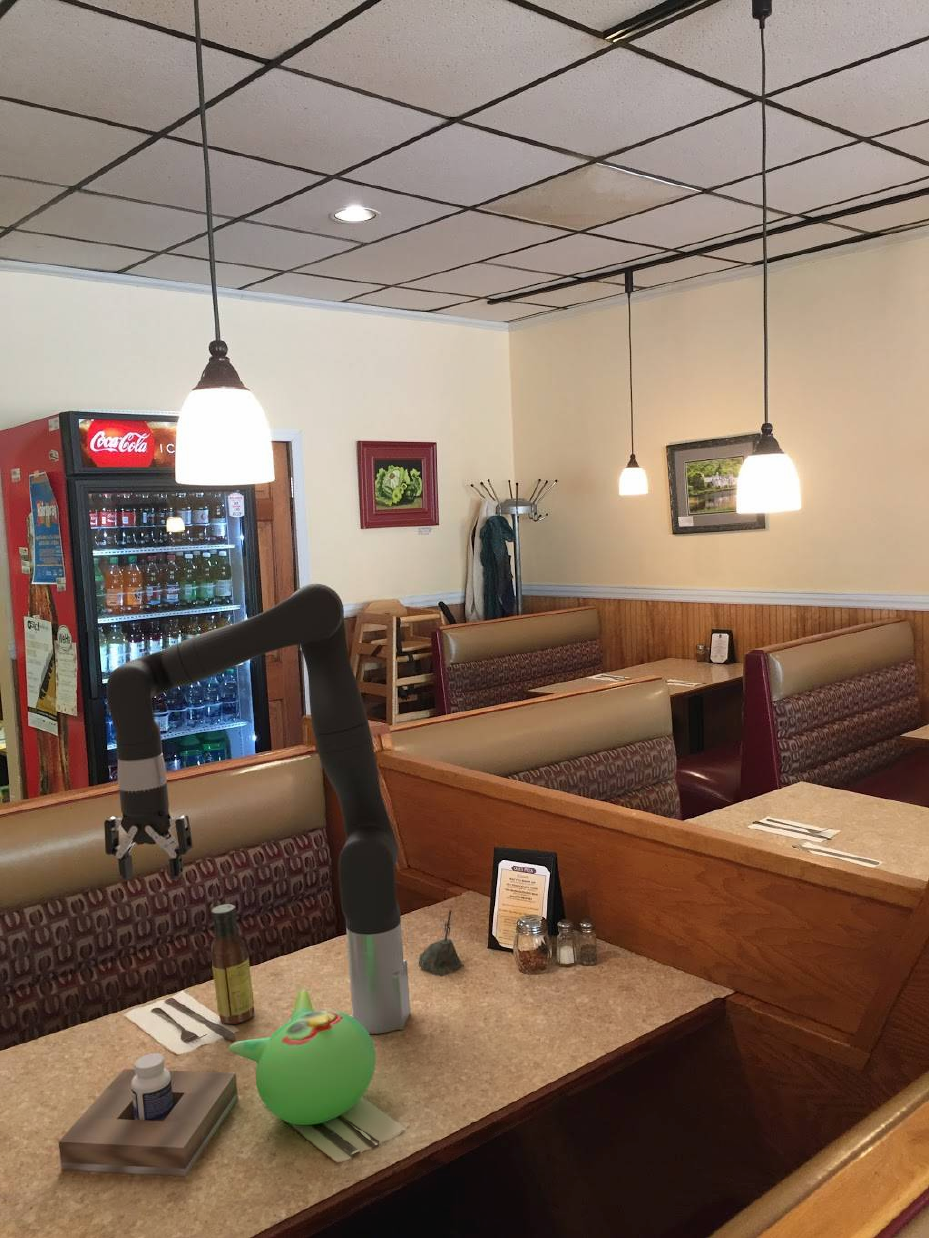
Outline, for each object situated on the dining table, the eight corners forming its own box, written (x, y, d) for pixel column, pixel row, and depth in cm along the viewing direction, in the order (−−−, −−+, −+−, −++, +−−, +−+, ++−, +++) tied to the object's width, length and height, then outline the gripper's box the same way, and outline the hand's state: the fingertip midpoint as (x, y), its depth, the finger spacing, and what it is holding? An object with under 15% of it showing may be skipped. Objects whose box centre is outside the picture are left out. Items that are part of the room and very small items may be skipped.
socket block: (237, 1098, 153) (235, 1072, 152) (186, 1176, 135) (183, 1147, 135) (126, 1093, 156) (123, 1068, 156) (61, 1169, 138) (58, 1141, 138)
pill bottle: (182, 1116, 147) (176, 1052, 146) (160, 1139, 142) (153, 1072, 141) (151, 1111, 149) (145, 1048, 148) (127, 1133, 144) (121, 1068, 143)
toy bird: (321, 1161, 137) (313, 1057, 135) (230, 1127, 146) (222, 1029, 144) (400, 1092, 152) (393, 998, 150) (312, 1065, 161) (305, 976, 159)
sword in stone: (408, 962, 196) (406, 901, 195) (443, 952, 201) (441, 892, 200) (435, 980, 188) (433, 917, 187) (471, 969, 192) (469, 907, 191)
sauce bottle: (259, 1008, 181) (250, 900, 179) (248, 1026, 175) (239, 914, 173) (223, 1008, 182) (214, 901, 179) (211, 1026, 175) (201, 915, 173)
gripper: (193, 776, 170) (201, 870, 171) (114, 777, 172) (123, 870, 174) (173, 788, 162) (182, 886, 164) (90, 789, 165) (100, 886, 166)
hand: (151, 878), depth 169 cm, fingers open, 8 cm apart
